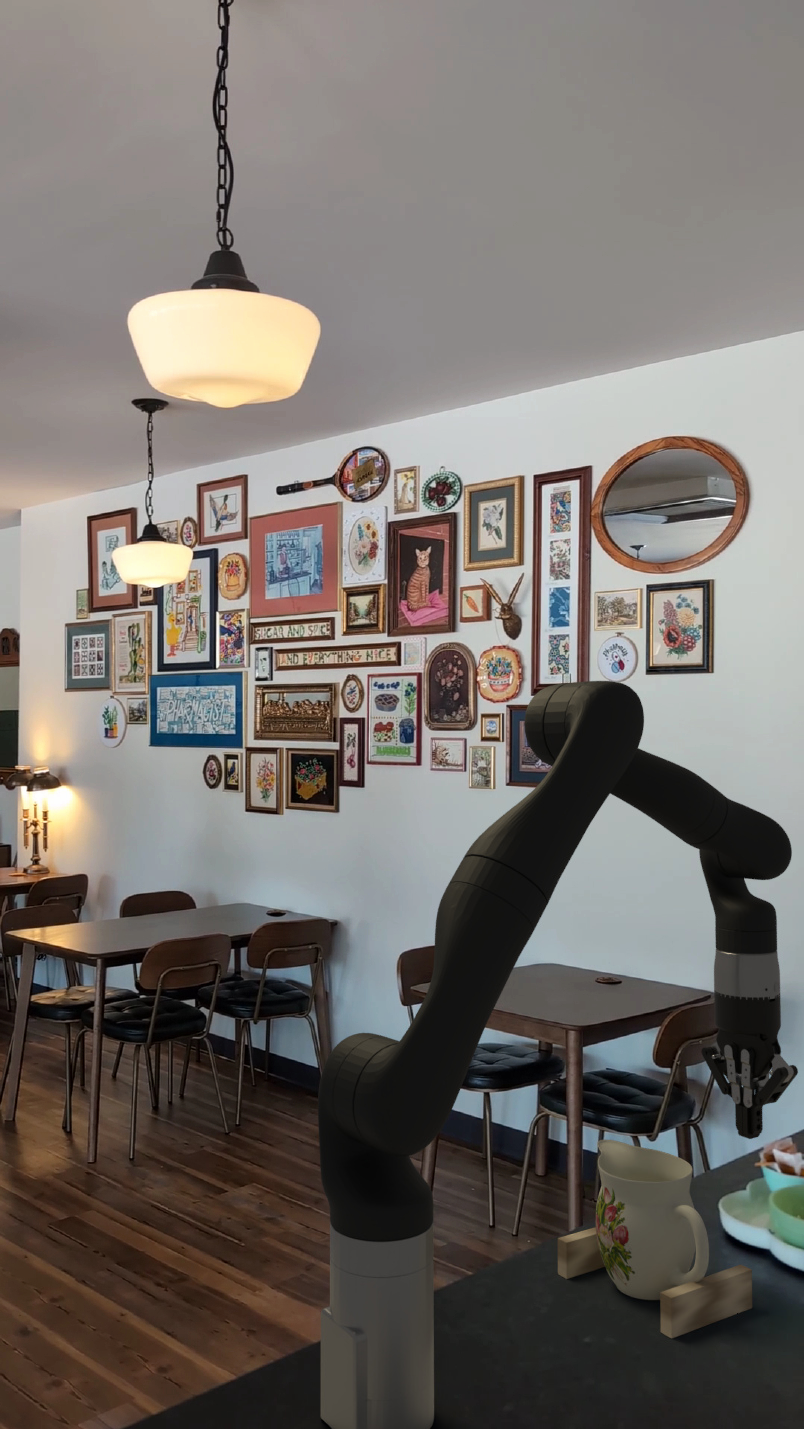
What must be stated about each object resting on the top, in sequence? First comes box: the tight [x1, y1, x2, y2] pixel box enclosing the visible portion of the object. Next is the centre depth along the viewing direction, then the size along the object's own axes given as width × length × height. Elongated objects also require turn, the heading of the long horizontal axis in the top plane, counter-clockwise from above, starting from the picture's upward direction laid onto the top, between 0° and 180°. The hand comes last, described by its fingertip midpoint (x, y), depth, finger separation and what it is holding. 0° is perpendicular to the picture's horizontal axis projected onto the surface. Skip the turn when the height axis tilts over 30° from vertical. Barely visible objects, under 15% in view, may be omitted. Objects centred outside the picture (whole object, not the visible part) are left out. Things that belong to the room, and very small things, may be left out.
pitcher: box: [595, 1139, 710, 1301], centre depth 128 cm, size 11×18×14 cm, turn 26°
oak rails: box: [557, 1226, 753, 1339], centre depth 128 cm, size 12×18×4 cm
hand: (749, 1136), depth 137 cm, fingers closed
